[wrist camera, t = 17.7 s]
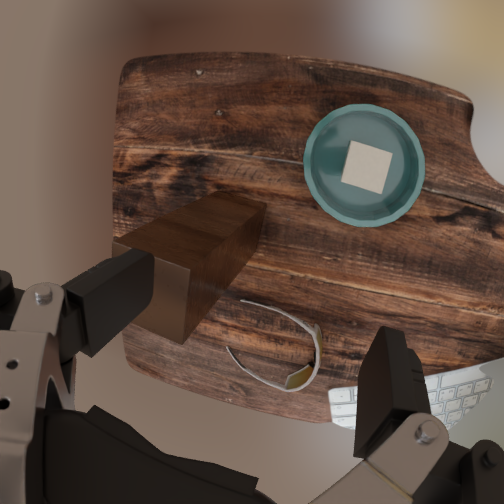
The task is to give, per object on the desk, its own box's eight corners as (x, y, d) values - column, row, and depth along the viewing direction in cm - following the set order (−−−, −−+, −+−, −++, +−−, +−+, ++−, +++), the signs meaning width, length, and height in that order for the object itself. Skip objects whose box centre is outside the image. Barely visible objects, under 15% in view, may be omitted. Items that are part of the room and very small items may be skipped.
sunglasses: (306, 386, 50) (297, 405, 45) (229, 348, 54) (215, 363, 49) (341, 324, 44) (335, 342, 39) (250, 282, 48) (236, 295, 44)
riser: (217, 190, 42) (111, 241, 22) (266, 203, 41) (190, 269, 21) (209, 237, 45) (112, 314, 25) (255, 251, 44) (182, 345, 24)
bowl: (321, 96, 34) (318, 89, 30) (426, 129, 32) (437, 127, 27) (297, 198, 40) (290, 207, 35) (397, 230, 37) (403, 242, 33)
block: (349, 140, 35) (351, 140, 29) (385, 151, 34) (392, 153, 28) (340, 175, 36) (340, 181, 31) (375, 186, 36) (381, 194, 30)
